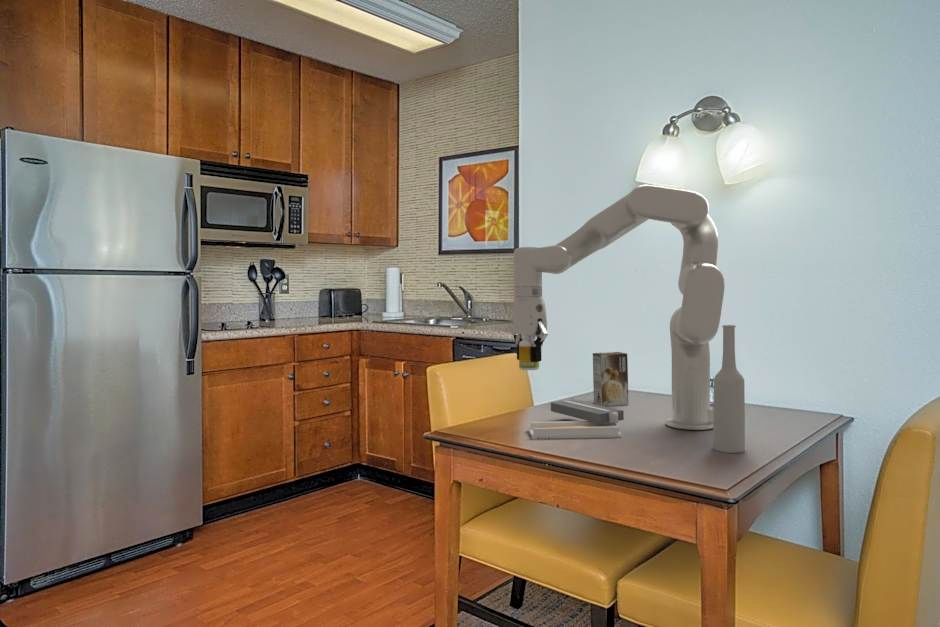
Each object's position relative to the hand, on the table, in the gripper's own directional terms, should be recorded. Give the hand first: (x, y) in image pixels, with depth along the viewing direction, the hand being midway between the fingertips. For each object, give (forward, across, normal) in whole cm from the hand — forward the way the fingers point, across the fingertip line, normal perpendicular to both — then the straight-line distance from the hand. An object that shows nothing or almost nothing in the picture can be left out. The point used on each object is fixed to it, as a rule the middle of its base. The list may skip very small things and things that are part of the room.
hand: (529, 359), depth 176 cm
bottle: (+18, -48, -20) cm, 55 cm away
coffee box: (+18, +8, -38) cm, 43 cm away
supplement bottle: (+3, 0, 0) cm, 3 cm away
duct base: (+18, -16, -2) cm, 24 cm away
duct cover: (+15, -11, -11) cm, 21 cm away
